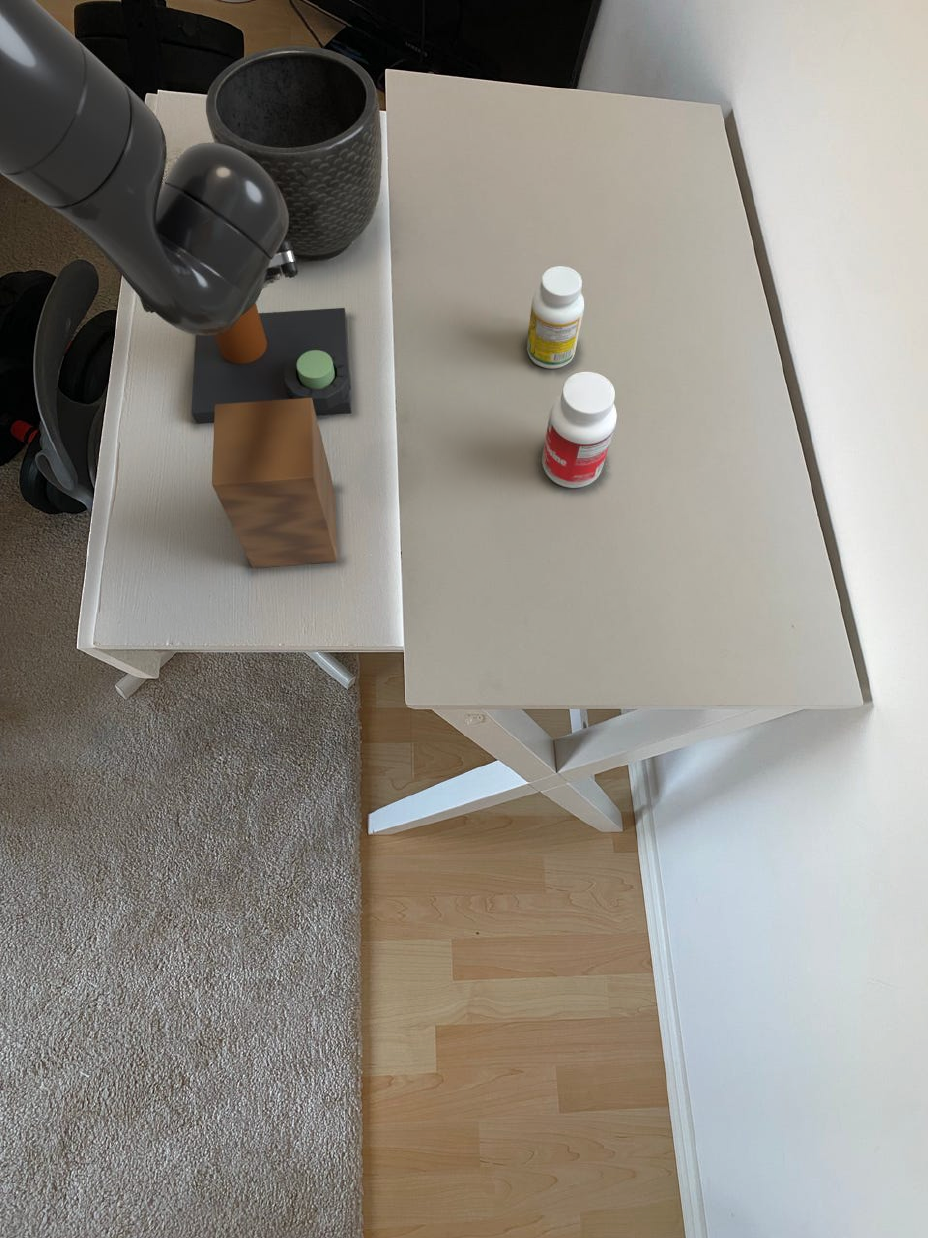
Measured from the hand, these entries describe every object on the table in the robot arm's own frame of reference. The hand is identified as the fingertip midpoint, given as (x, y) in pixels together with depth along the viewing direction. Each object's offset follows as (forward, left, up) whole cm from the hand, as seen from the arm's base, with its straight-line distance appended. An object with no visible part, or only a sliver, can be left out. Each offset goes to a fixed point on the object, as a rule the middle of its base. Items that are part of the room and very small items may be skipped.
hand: (219, 283), depth 77 cm
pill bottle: (+33, -18, -9) cm, 39 cm away
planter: (+8, +17, -9) cm, 21 cm away
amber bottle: (0, -1, -7) cm, 8 cm away
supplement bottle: (+33, -3, -9) cm, 35 cm away
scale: (+3, -3, -9) cm, 10 cm away
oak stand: (+5, -23, -9) cm, 25 cm away
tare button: (+8, -7, -6) cm, 12 cm away
